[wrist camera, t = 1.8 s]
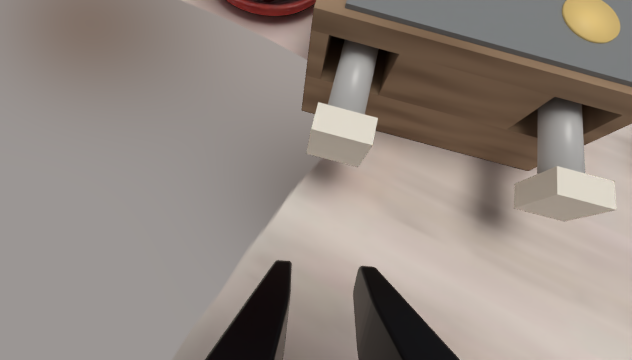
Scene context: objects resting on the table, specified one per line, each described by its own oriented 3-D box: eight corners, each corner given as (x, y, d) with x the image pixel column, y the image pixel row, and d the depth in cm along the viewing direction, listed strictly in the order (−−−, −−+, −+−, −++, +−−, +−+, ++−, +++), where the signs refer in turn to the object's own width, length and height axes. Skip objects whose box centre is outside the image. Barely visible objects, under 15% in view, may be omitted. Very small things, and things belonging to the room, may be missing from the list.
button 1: (564, 221, 19) (616, 210, 16) (513, 208, 19) (557, 194, 16) (561, 91, 22) (604, 61, 19) (517, 79, 22) (555, 47, 19)
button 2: (358, 167, 19) (372, 145, 16) (306, 153, 19) (311, 128, 16) (384, 42, 22) (400, 4, 19) (339, 30, 22) (348, -10, 19)
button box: (528, 170, 26) (670, 105, 16) (301, 110, 25) (313, 7, 16) (529, 89, 28) (653, -8, 19) (323, 33, 28) (346, -95, 19)
